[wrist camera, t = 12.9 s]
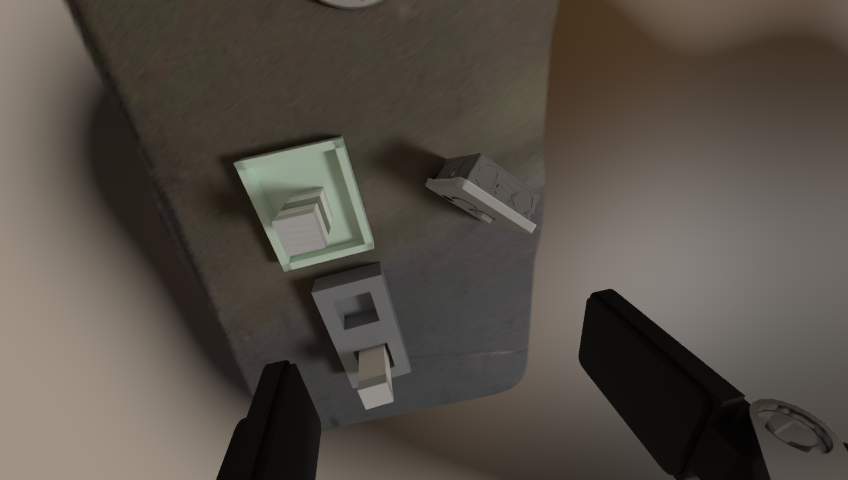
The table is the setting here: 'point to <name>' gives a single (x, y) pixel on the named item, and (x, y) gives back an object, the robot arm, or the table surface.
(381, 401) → the block
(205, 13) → the table surface
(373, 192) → the table surface
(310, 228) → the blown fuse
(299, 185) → the parts tray
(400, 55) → the table surface
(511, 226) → the electrical switch
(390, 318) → the block
